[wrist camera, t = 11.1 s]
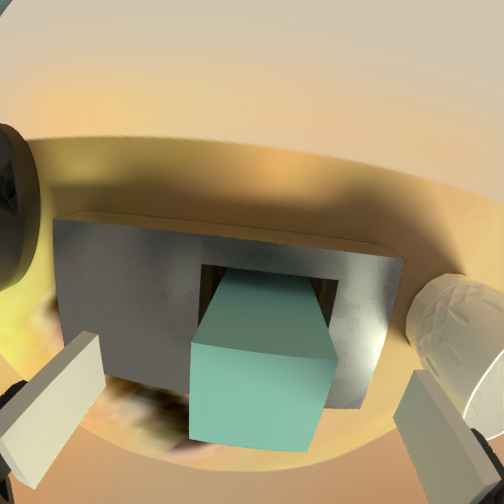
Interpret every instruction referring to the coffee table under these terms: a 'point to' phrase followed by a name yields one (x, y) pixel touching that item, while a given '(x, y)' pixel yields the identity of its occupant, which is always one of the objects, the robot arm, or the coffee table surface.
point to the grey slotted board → (199, 291)
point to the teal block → (260, 363)
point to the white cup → (463, 346)
